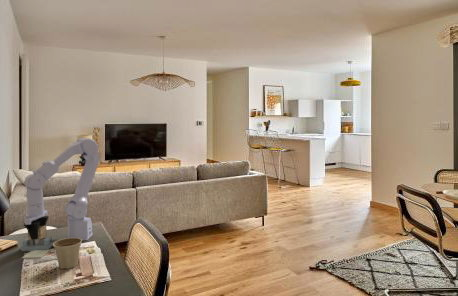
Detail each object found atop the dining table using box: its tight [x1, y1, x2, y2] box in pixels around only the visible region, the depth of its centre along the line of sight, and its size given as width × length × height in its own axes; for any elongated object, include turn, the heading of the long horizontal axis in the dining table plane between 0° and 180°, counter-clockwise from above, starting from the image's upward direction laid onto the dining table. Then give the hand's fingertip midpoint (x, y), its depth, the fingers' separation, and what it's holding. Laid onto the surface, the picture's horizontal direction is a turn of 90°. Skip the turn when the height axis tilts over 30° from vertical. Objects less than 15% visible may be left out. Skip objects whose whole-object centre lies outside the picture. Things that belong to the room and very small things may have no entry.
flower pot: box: [52, 237, 83, 270], centre depth 124 cm, size 9×9×9 cm
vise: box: [20, 236, 59, 252], centre depth 143 cm, size 13×7×7 cm, turn 93°
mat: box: [21, 249, 50, 259], centre depth 135 cm, size 7×7×1 cm
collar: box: [27, 225, 48, 240], centre depth 143 cm, size 5×5×4 cm
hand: (37, 236), depth 143 cm, fingers closed on collar, 5 cm apart
